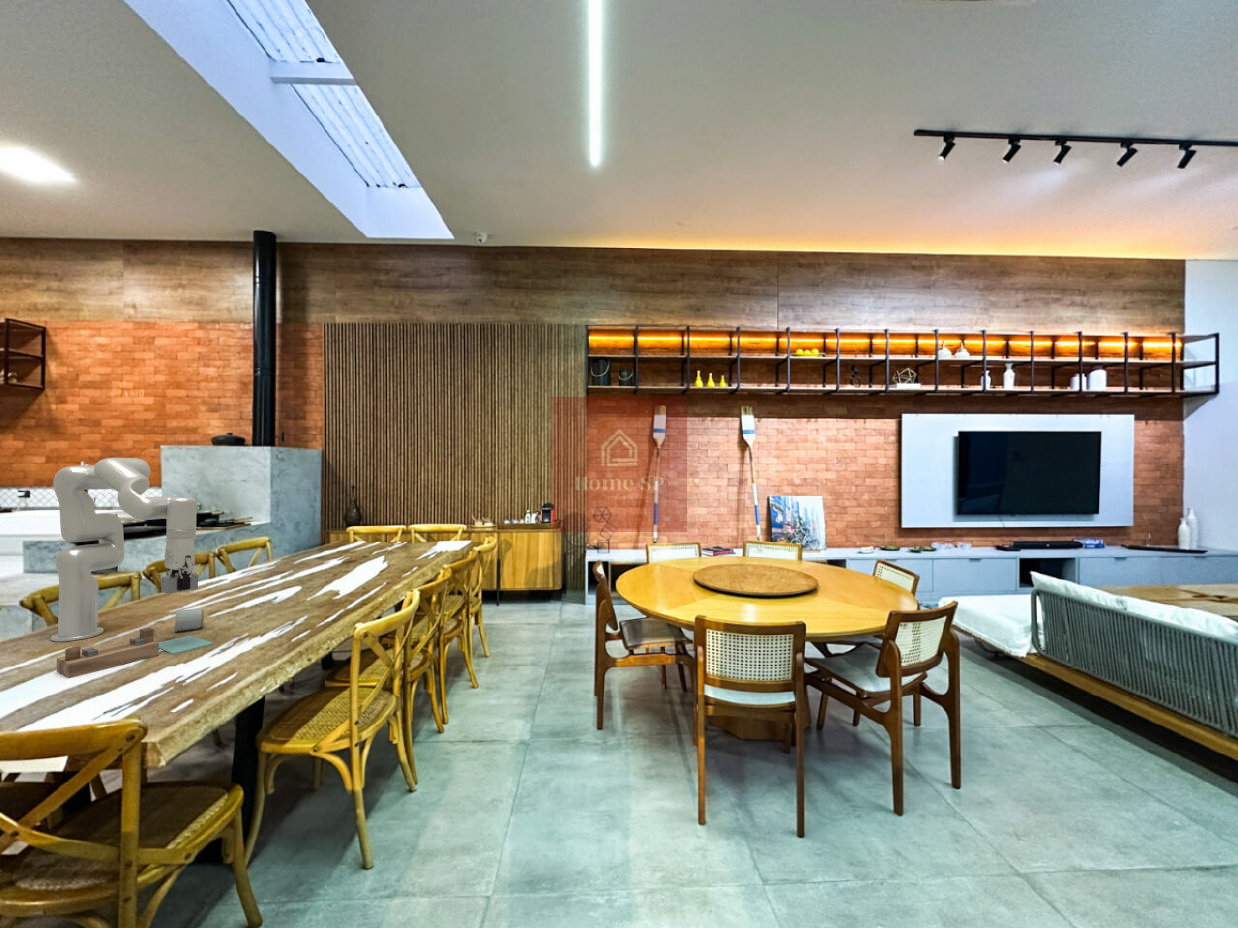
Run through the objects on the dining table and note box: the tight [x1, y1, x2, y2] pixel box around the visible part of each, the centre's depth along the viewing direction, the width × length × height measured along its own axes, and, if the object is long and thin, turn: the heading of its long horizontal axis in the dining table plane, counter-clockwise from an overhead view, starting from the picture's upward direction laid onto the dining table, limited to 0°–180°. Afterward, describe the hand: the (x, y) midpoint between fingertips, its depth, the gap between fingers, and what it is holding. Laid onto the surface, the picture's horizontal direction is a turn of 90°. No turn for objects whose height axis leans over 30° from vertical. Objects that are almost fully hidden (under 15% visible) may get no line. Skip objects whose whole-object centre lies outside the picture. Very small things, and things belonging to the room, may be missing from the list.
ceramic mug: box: [174, 608, 205, 633], centre depth 188 cm, size 11×8×8 cm
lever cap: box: [160, 571, 199, 595], centre depth 169 cm, size 5×8×6 cm, turn 152°
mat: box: [158, 635, 214, 656], centre depth 170 cm, size 16×11×1 cm
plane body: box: [56, 627, 159, 679], centre depth 154 cm, size 9×20×8 cm, turn 153°
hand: (179, 588), depth 169 cm, fingers closed on lever cap, 5 cm apart
